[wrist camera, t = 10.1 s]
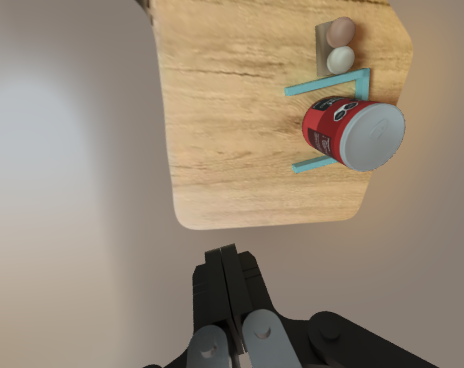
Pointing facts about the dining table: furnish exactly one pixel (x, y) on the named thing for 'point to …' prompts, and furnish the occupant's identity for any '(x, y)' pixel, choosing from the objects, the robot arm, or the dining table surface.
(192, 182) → the dining table surface
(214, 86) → the dining table surface
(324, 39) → the egg holder with eggs
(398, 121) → the canned food
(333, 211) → the dining table surface
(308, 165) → the teal bay
